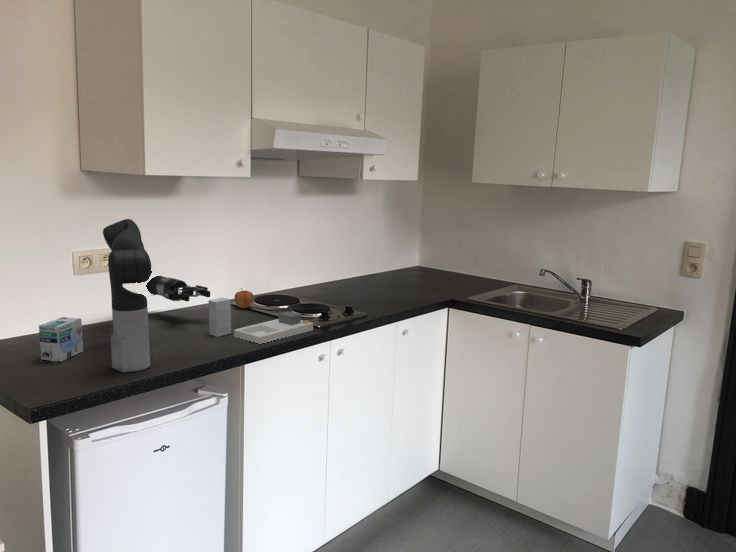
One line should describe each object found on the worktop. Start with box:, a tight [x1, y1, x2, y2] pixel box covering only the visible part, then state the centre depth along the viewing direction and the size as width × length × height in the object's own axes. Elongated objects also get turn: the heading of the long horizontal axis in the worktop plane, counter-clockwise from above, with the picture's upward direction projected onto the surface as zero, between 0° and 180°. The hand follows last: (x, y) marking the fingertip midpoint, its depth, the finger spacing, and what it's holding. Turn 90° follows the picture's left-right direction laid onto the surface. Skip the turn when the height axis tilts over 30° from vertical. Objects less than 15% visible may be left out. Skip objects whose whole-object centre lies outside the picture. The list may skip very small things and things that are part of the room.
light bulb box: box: [38, 316, 84, 362], centre depth 182 cm, size 11×7×11 cm, turn 170°
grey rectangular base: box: [233, 311, 314, 345], centre depth 211 cm, size 24×13×6 cm, turn 140°
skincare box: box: [208, 297, 232, 338], centre depth 208 cm, size 6×4×12 cm
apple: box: [234, 287, 254, 310], centre depth 245 cm, size 7×7×8 cm
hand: (199, 296), depth 214 cm, fingers open, 8 cm apart
